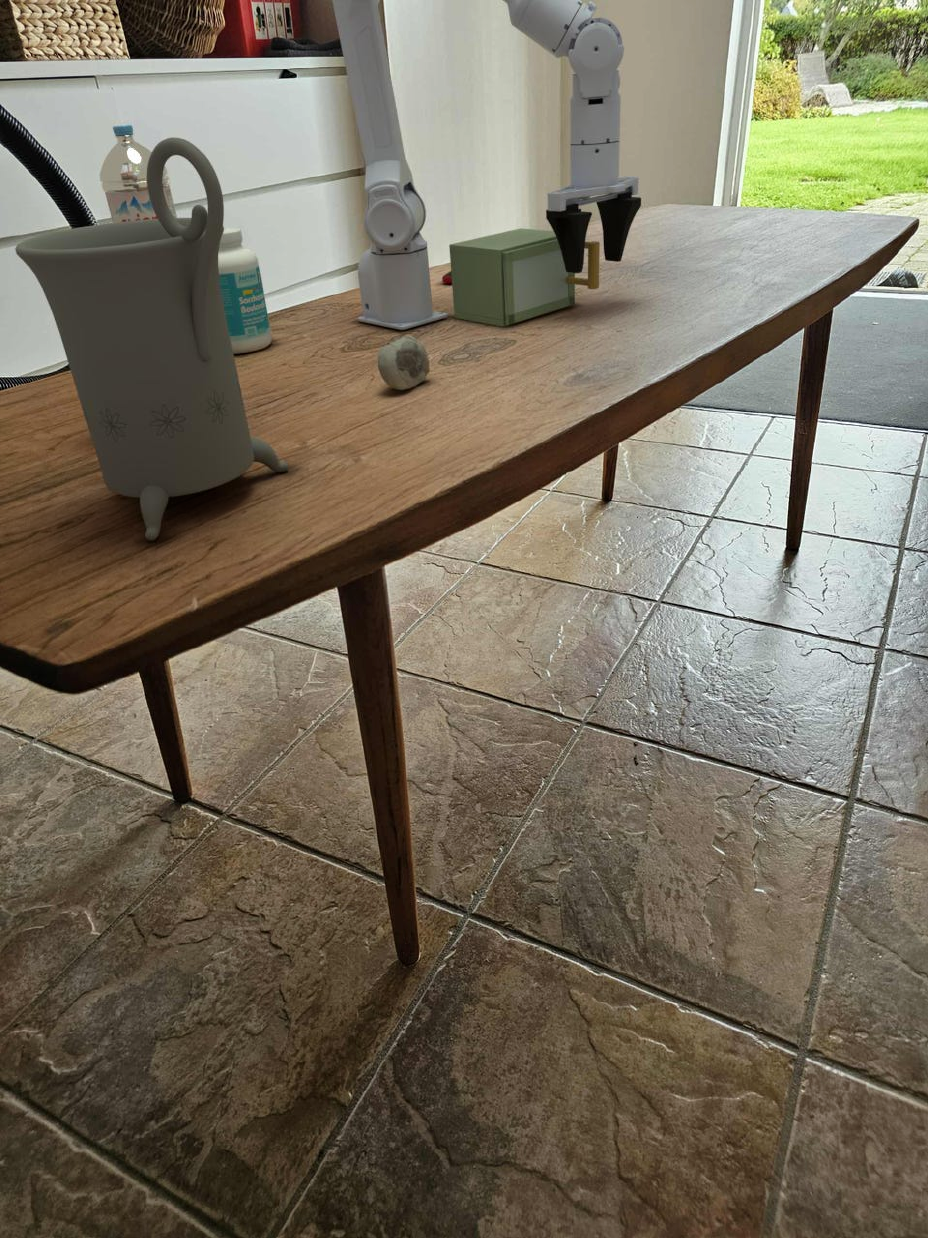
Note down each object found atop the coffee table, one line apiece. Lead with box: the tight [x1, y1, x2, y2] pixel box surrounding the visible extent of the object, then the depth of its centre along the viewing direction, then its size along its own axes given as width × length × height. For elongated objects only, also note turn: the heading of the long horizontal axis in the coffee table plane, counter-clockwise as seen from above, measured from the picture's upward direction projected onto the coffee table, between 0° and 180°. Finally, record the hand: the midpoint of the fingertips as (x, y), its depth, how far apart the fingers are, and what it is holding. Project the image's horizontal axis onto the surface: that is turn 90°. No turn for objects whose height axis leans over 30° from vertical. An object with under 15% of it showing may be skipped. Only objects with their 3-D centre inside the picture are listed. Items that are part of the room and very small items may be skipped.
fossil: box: [377, 334, 430, 391], centre depth 89 cm, size 6×3×5 cm, turn 151°
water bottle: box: [99, 124, 178, 223], centre depth 94 cm, size 7×7×25 cm
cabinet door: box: [503, 239, 601, 326], centre depth 107 cm, size 13×5×8 cm, turn 133°
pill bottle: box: [218, 227, 273, 355], centre depth 105 cm, size 8×7×14 cm
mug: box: [14, 137, 289, 542], centre depth 63 cm, size 19×15×25 cm
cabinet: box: [448, 227, 572, 328], centre depth 112 cm, size 13×9×9 cm
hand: (593, 266), depth 108 cm, fingers open, 7 cm apart
